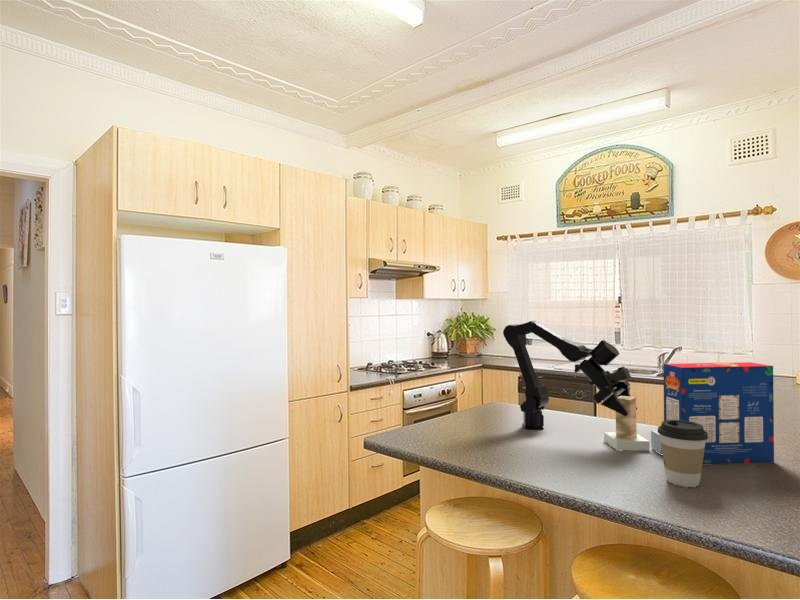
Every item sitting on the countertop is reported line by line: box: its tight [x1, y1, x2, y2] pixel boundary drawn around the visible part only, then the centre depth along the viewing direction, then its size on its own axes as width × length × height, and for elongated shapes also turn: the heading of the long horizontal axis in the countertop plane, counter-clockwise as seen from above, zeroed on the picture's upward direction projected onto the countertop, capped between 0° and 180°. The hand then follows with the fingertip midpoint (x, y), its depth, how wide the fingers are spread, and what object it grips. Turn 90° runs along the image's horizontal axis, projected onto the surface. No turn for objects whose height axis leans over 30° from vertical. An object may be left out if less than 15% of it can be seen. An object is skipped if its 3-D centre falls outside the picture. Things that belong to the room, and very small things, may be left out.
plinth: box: [603, 431, 651, 451], centre depth 151 cm, size 10×10×4 cm
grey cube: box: [650, 430, 663, 455], centre depth 144 cm, size 6×6×6 cm
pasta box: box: [663, 361, 775, 465], centre depth 138 cm, size 28×8×28 cm, turn 95°
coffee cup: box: [656, 420, 708, 488], centre depth 120 cm, size 11×11×15 cm
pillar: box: [615, 396, 638, 440], centre depth 150 cm, size 4×6×12 cm
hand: (631, 412), depth 149 cm, fingers open, 9 cm apart
